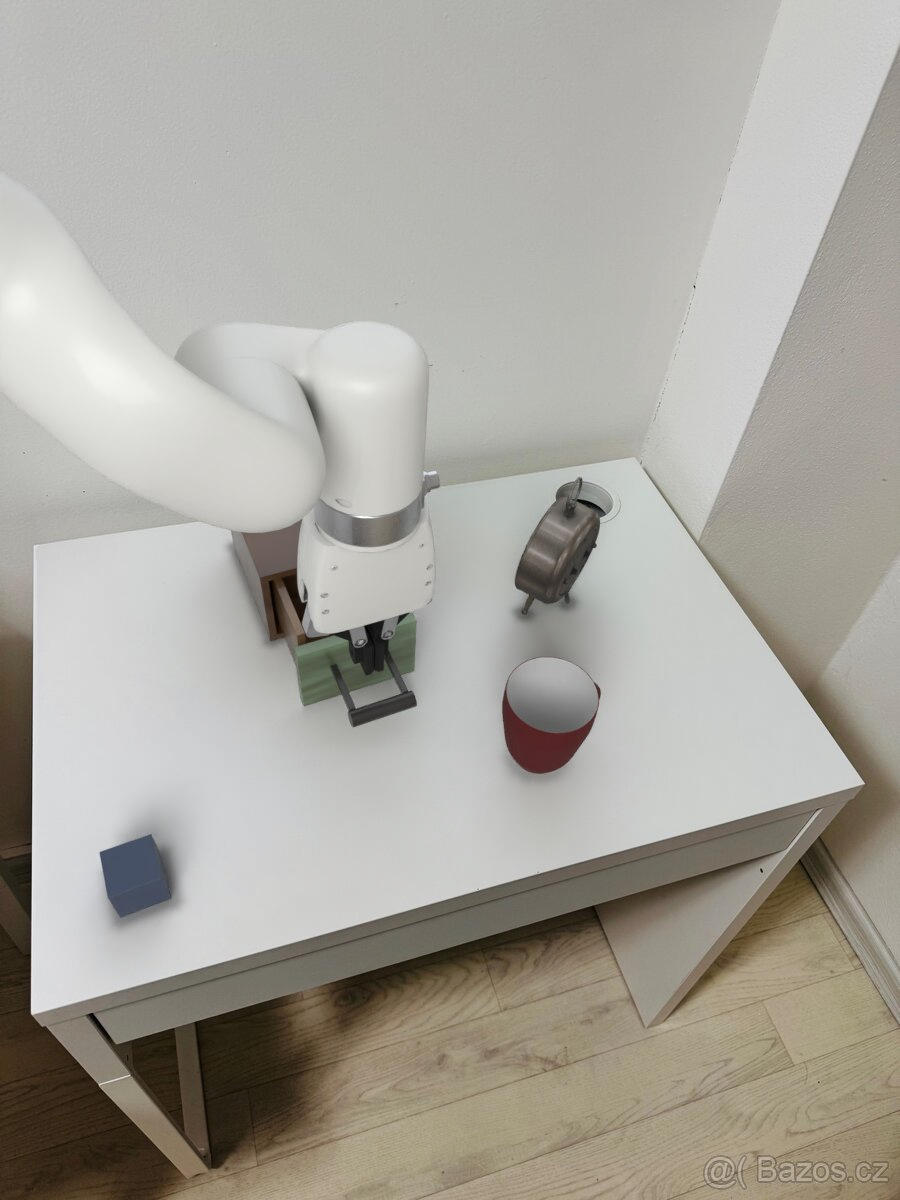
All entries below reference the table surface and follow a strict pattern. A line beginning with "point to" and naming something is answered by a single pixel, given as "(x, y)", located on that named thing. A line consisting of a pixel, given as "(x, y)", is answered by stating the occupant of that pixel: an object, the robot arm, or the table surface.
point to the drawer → (341, 659)
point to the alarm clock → (557, 550)
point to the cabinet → (267, 566)
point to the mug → (548, 712)
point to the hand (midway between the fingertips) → (368, 660)
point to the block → (134, 875)
